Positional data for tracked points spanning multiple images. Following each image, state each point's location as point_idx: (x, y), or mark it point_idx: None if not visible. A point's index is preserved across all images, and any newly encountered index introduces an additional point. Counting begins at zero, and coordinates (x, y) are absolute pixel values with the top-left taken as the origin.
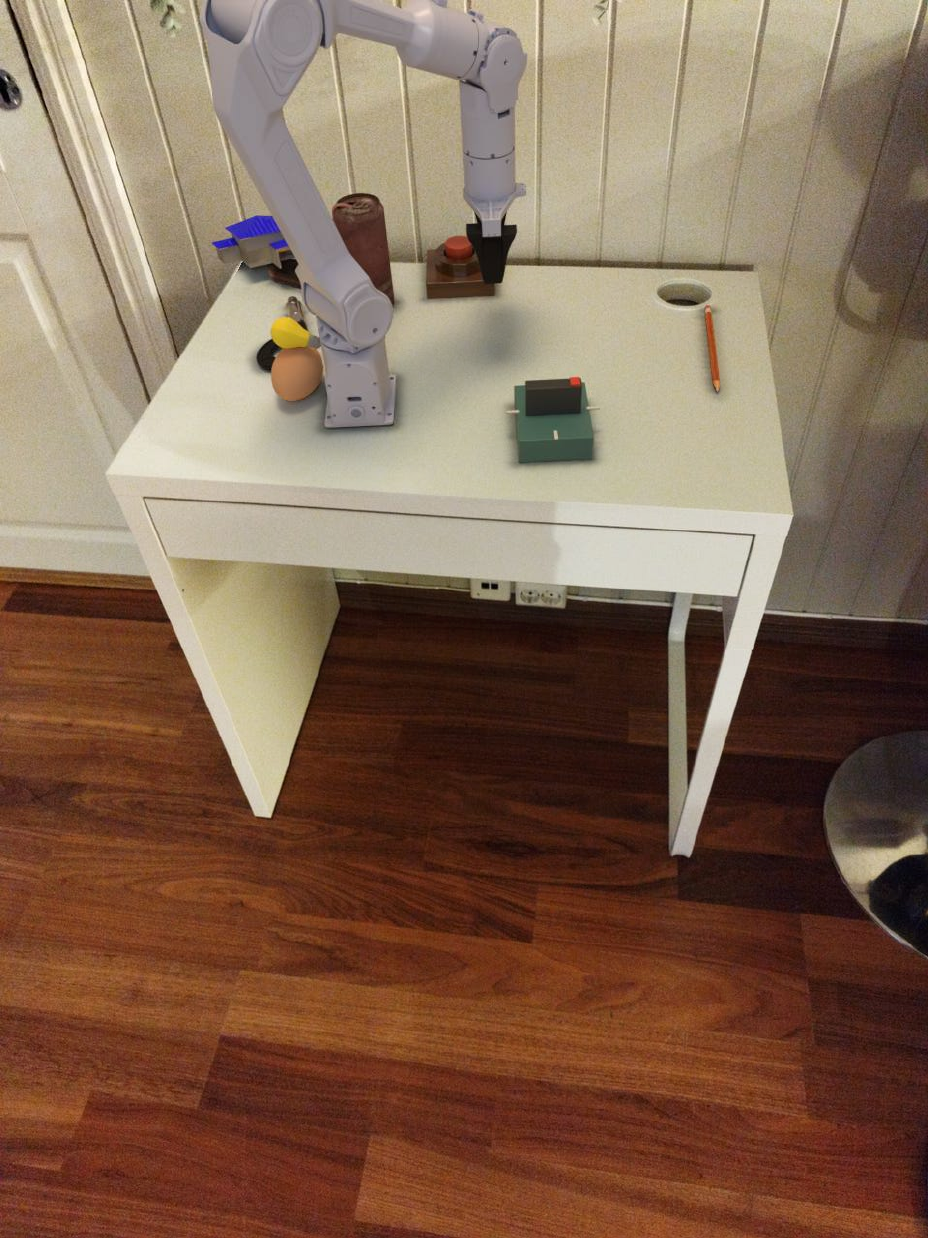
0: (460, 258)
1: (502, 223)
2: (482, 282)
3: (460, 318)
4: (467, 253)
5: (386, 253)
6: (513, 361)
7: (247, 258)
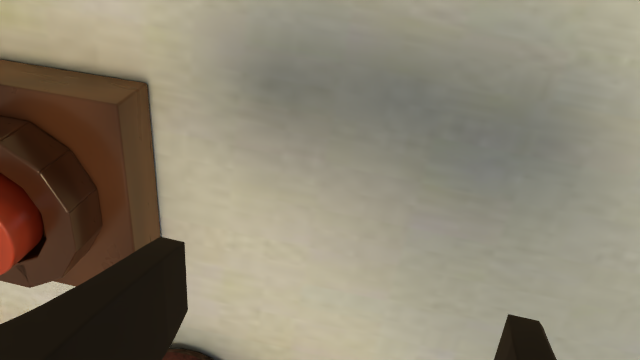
0: (37, 221)
1: (96, 330)
2: (126, 142)
3: (276, 210)
4: (14, 203)
5: None
6: (591, 101)
7: None
